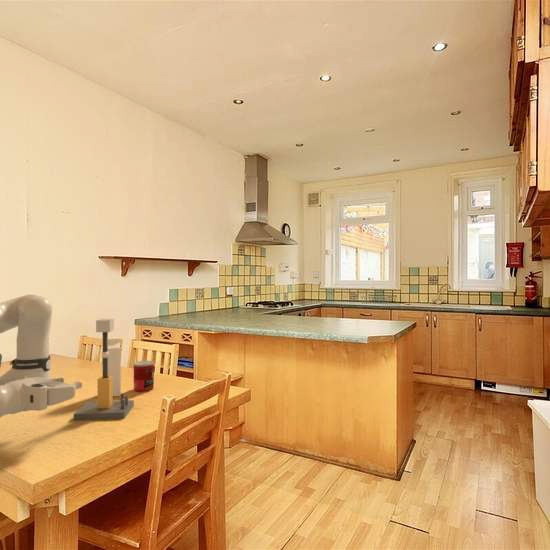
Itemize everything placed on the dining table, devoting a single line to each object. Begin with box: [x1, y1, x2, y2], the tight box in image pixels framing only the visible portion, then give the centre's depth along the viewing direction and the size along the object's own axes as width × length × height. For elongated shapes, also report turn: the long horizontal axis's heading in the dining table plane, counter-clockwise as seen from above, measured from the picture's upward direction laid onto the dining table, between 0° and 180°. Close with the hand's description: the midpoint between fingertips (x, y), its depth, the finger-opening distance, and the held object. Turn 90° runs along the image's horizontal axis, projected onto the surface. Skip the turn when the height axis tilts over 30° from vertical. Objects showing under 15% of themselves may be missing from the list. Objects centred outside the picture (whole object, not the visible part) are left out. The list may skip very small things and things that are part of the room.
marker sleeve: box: [96, 375, 114, 409], centre depth 133 cm, size 4×4×10 cm
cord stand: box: [73, 318, 135, 421], centre depth 133 cm, size 16×12×32 cm
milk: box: [101, 337, 122, 397], centre depth 152 cm, size 6×6×22 cm
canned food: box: [133, 360, 155, 393], centre depth 160 cm, size 8×8×11 cm
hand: (71, 382), depth 122 cm, fingers open, 8 cm apart
